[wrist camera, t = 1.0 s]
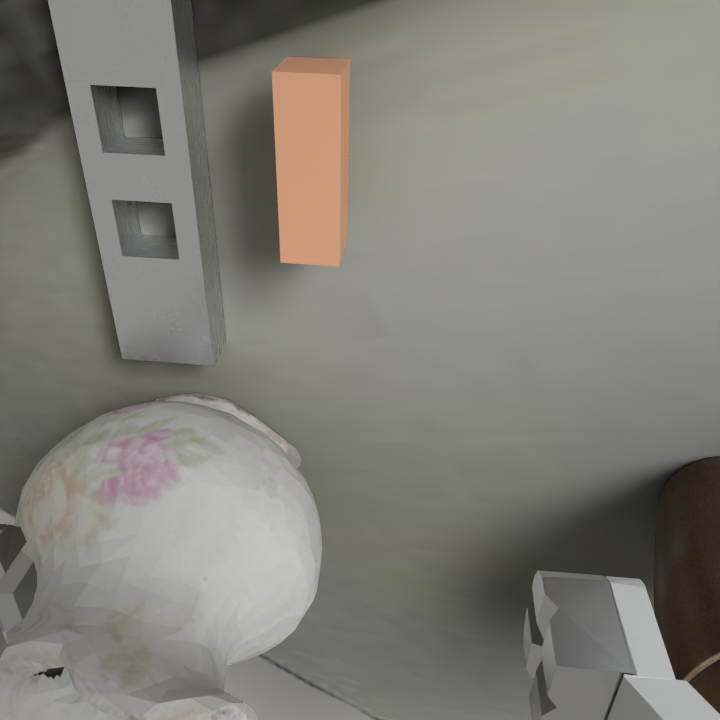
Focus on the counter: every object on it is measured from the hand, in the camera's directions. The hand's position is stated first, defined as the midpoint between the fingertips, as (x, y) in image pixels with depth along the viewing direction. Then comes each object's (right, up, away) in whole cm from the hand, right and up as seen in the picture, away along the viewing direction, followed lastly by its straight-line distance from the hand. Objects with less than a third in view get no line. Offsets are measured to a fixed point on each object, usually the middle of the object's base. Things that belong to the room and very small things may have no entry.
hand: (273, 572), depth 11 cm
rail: (-10, +15, +28) cm, 34 cm away
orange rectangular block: (0, +16, +27) cm, 31 cm away
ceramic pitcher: (-11, -4, +41) cm, 43 cm away
